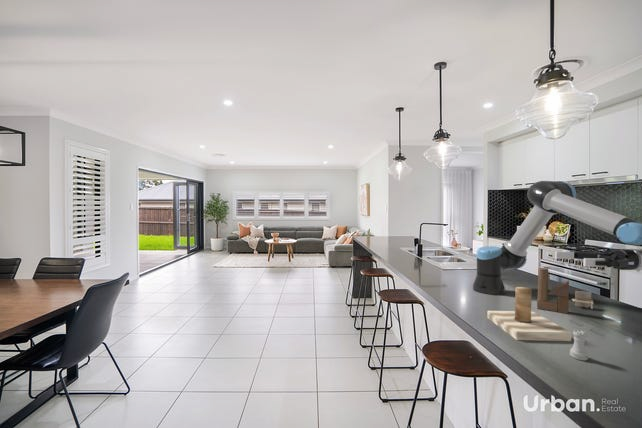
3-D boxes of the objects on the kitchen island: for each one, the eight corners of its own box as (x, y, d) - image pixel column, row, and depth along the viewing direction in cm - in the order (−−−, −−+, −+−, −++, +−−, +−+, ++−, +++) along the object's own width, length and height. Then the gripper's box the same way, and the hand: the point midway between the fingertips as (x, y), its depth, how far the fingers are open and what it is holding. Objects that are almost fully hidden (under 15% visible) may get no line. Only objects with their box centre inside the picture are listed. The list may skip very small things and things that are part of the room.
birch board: (487, 317, 123) (487, 310, 123) (532, 318, 122) (533, 311, 122) (516, 339, 103) (516, 331, 103) (571, 341, 102) (571, 332, 102)
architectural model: (594, 311, 132) (594, 294, 132) (573, 308, 135) (574, 292, 135) (591, 308, 135) (591, 292, 135) (571, 306, 138) (572, 290, 138)
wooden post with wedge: (568, 313, 127) (569, 271, 127) (537, 308, 133) (538, 268, 133) (567, 311, 130) (568, 270, 130) (536, 306, 136) (537, 267, 136)
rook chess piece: (565, 354, 93) (566, 328, 93) (578, 353, 93) (579, 328, 93) (579, 361, 89) (579, 334, 88) (592, 360, 89) (593, 334, 89)
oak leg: (511, 325, 115) (512, 286, 114) (525, 325, 115) (526, 286, 114) (519, 331, 110) (520, 290, 109) (534, 331, 110) (535, 290, 109)
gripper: (667, 278, 96) (597, 277, 98) (600, 262, 121) (545, 261, 123) (668, 255, 96) (599, 254, 97) (601, 244, 121) (546, 243, 122)
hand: (569, 258), depth 110 cm, fingers open, 13 cm apart
